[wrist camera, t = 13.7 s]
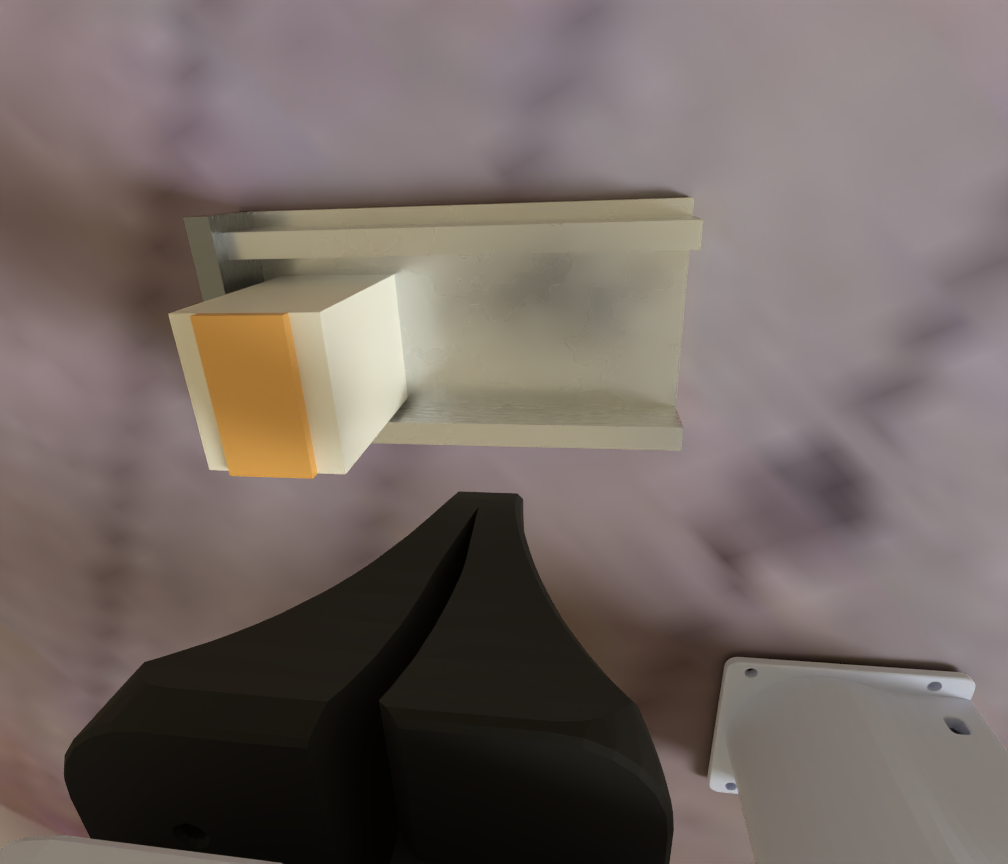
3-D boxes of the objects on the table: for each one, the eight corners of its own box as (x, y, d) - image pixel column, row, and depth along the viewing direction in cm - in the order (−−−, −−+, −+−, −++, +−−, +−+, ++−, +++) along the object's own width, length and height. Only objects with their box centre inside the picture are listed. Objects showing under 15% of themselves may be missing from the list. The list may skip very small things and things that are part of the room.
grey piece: (691, 196, 18) (709, 201, 15) (670, 434, 21) (682, 473, 18) (238, 211, 20) (183, 217, 17) (282, 426, 23) (241, 460, 20)
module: (394, 274, 19) (314, 315, 14) (407, 397, 21) (341, 479, 16) (282, 275, 20) (159, 316, 14) (304, 396, 22) (203, 475, 16)
